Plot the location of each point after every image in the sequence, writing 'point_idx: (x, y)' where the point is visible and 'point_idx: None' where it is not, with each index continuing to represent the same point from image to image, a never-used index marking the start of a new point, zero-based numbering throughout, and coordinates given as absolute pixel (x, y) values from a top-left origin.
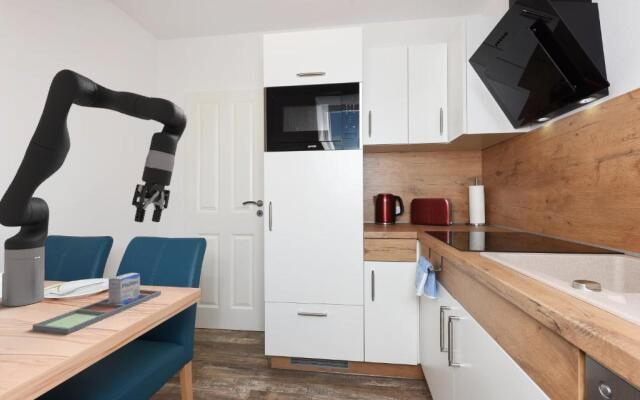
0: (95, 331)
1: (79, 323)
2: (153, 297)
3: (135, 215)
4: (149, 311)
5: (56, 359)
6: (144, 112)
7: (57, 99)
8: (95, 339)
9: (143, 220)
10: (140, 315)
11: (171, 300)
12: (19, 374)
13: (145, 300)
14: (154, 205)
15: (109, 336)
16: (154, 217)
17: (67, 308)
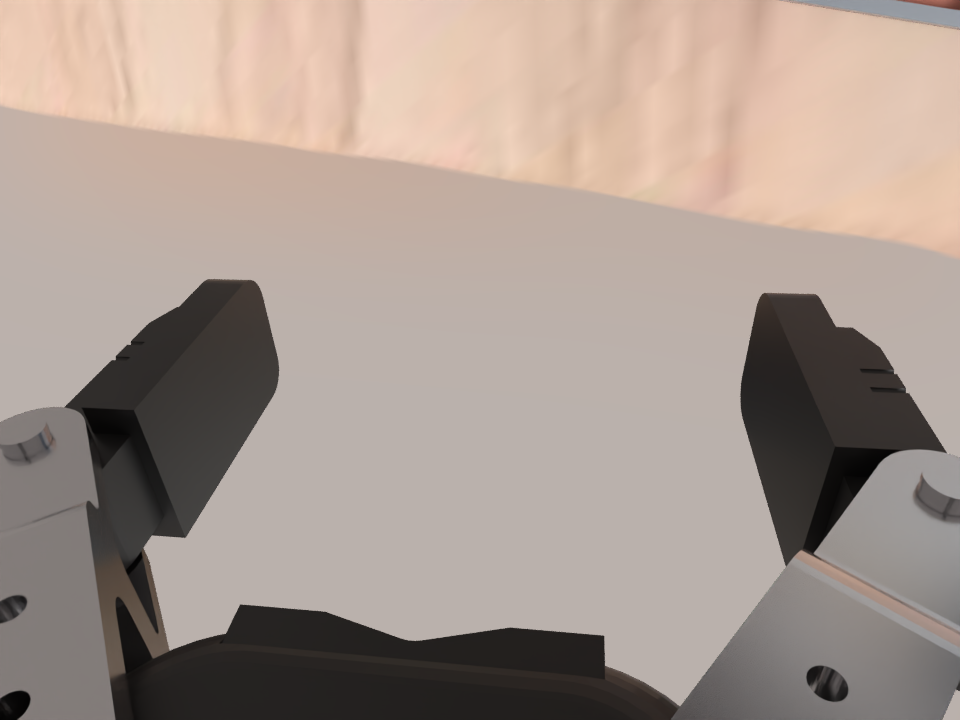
0: (324, 37)
1: None
2: (885, 17)
3: (129, 348)
4: (597, 150)
5: (105, 83)
6: None
7: None
8: (258, 105)
9: (267, 400)
10: (534, 135)
11: (803, 183)
12: (10, 43)
13: (802, 3)
14: (833, 540)
15: (292, 146)
16: (774, 368)
17: None
